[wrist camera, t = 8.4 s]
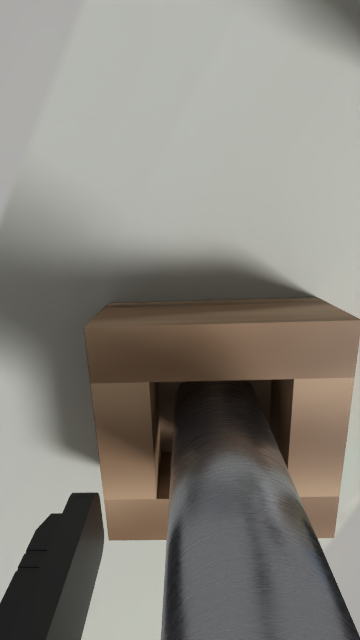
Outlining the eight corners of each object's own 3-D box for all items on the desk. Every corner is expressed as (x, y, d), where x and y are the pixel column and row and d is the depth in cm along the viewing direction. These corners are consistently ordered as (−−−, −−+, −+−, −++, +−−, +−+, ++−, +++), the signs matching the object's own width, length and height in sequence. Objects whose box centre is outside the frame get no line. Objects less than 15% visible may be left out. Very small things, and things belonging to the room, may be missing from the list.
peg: (173, 367, 15) (138, 792, 4) (257, 365, 15) (484, 793, 4) (176, 439, 16) (156, 940, 5) (254, 438, 16) (423, 943, 5)
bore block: (108, 303, 16) (83, 327, 12) (317, 297, 15) (361, 320, 11) (124, 474, 18) (109, 540, 14) (302, 471, 18) (334, 537, 14)
